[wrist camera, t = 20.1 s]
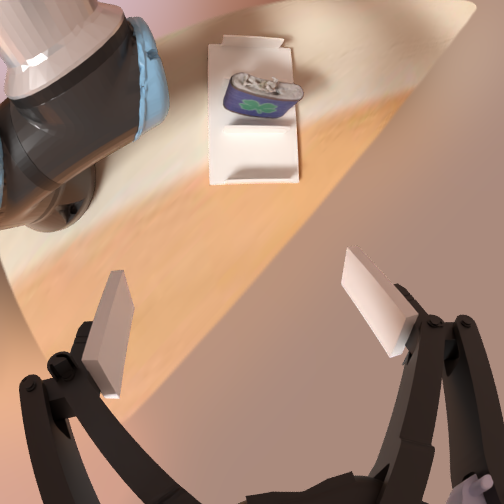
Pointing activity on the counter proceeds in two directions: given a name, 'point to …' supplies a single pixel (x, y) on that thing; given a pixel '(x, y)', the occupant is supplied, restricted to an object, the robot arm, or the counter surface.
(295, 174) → the rack
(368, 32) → the counter surface
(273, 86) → the flask
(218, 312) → the counter surface
